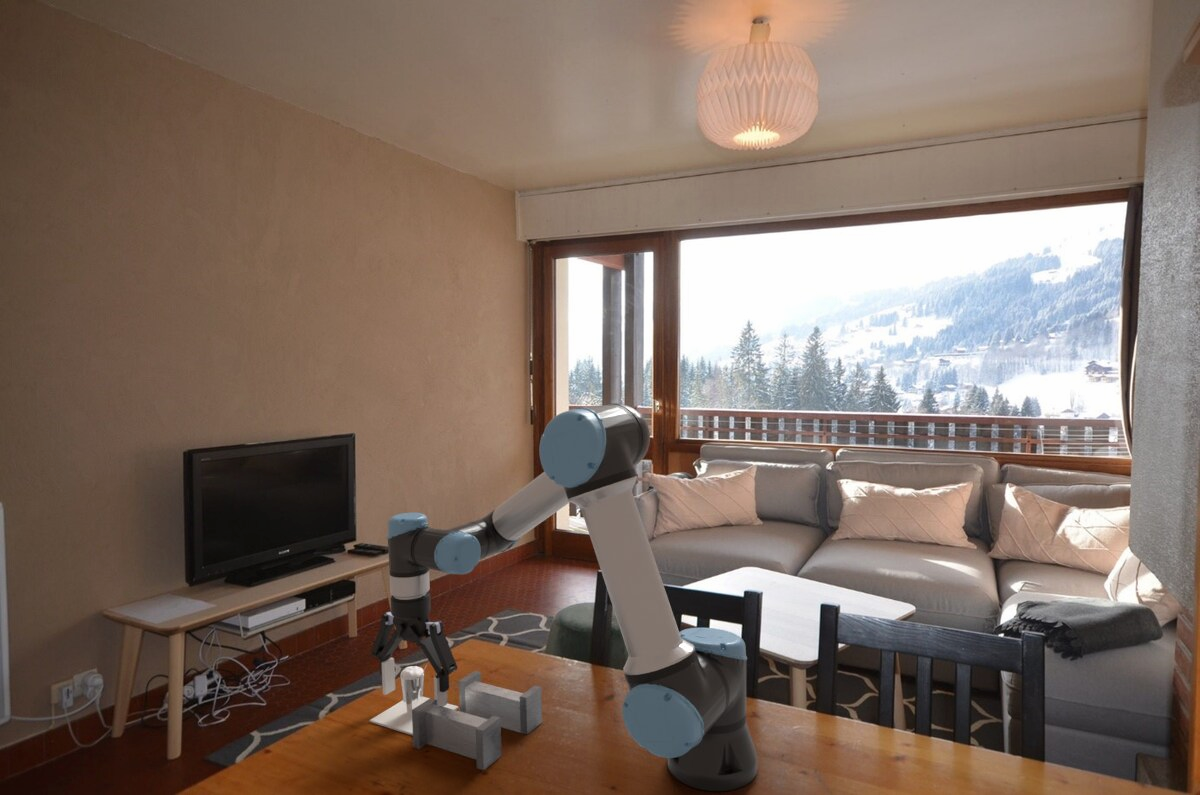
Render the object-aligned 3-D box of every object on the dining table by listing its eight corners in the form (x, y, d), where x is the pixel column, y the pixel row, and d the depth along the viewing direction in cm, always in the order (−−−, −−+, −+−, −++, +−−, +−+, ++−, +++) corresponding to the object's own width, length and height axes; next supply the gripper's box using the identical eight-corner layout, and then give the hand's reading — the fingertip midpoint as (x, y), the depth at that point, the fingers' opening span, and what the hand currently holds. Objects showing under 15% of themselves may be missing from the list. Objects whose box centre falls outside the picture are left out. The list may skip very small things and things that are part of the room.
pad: (458, 708, 147) (458, 706, 147) (416, 736, 136) (416, 734, 136) (413, 695, 153) (413, 693, 153) (369, 721, 142) (369, 719, 142)
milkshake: (423, 720, 142) (421, 669, 141) (397, 717, 143) (395, 668, 142) (433, 708, 146) (431, 659, 145) (408, 706, 147) (406, 658, 147)
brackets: (542, 722, 141) (541, 686, 140) (483, 770, 125) (482, 730, 125) (476, 704, 149) (474, 670, 148) (413, 747, 133) (411, 709, 132)
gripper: (473, 596, 140) (476, 704, 142) (378, 579, 152) (382, 678, 154) (447, 609, 134) (451, 722, 135) (349, 590, 146) (354, 693, 147)
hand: (414, 699), depth 144 cm, fingers open, 13 cm apart
